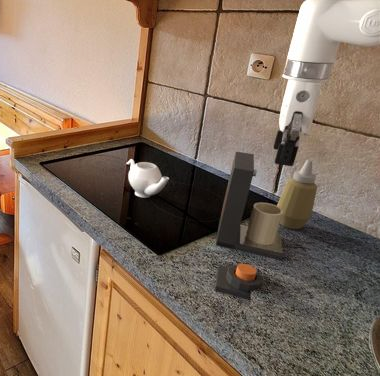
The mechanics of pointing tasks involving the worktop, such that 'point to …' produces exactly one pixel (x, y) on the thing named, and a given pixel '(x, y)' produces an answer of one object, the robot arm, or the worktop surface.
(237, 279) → the dark grey button base
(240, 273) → the button
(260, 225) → the cup
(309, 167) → the squeeze bottle
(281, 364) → the worktop surface
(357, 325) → the worktop surface
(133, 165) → the teapot
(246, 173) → the coffee maker
